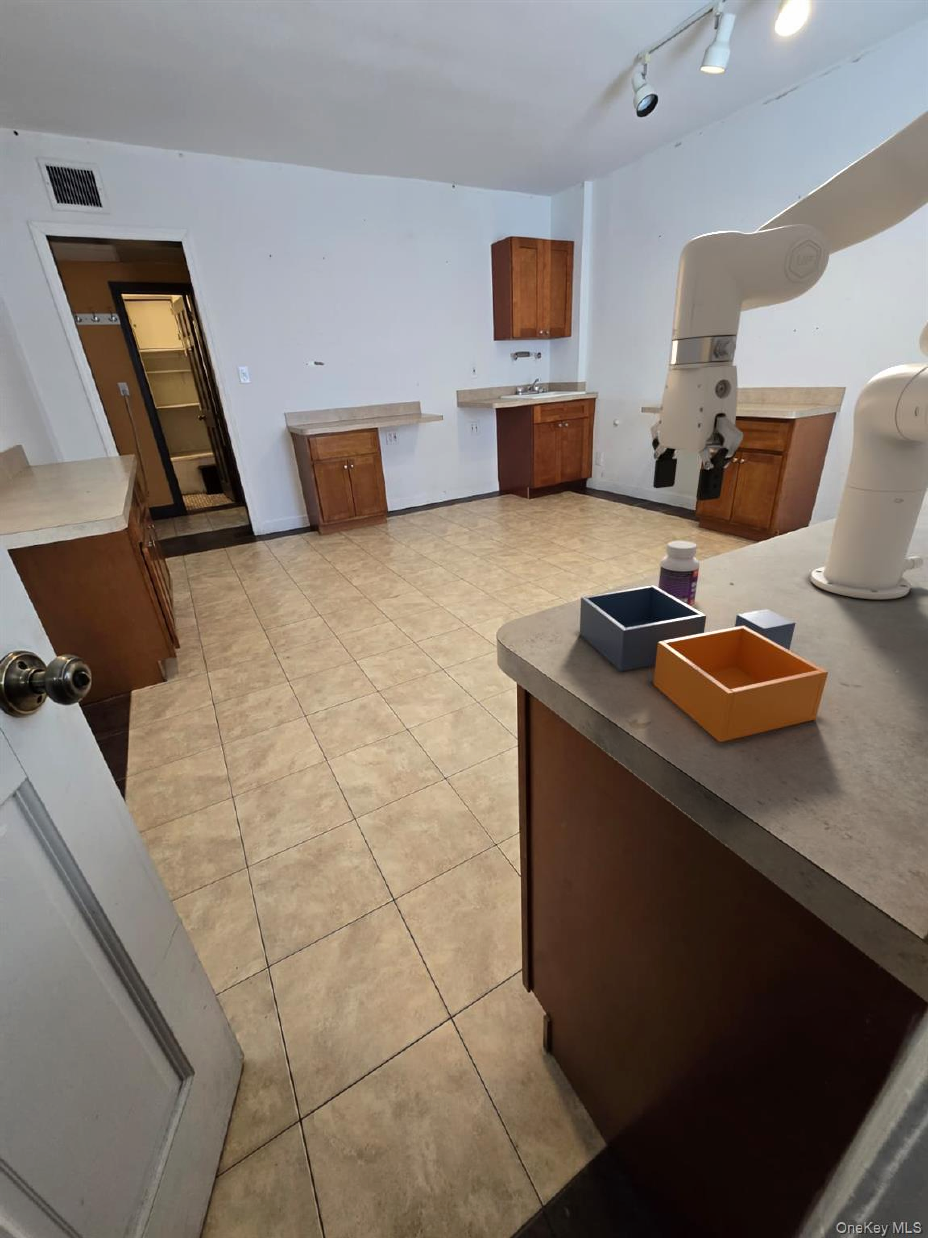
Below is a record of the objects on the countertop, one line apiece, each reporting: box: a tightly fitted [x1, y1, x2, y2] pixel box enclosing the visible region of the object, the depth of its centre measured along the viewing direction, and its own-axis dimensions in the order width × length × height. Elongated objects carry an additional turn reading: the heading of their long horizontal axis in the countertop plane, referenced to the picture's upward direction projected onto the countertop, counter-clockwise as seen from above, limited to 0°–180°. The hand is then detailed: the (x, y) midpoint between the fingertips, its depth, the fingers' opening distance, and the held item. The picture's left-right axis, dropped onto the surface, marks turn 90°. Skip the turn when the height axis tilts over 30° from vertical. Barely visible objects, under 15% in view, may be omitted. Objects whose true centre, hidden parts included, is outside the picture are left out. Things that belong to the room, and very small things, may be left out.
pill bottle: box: [657, 540, 700, 608], centre depth 77 cm, size 5×5×10 cm
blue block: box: [734, 608, 796, 651], centre depth 64 cm, size 4×4×4 cm
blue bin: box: [579, 584, 707, 672], centre depth 67 cm, size 11×11×6 cm
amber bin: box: [653, 626, 829, 743], centre depth 54 cm, size 11×11×6 cm
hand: (684, 492), depth 71 cm, fingers open, 9 cm apart
